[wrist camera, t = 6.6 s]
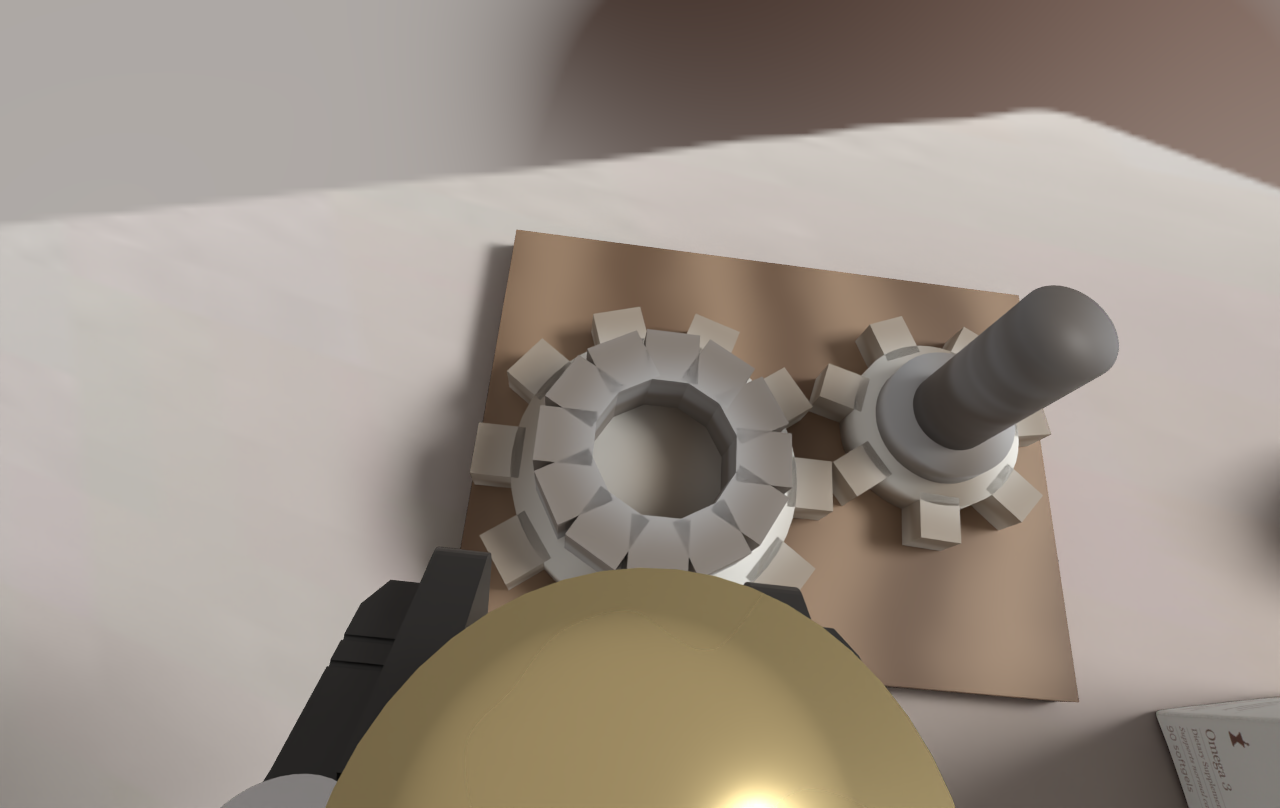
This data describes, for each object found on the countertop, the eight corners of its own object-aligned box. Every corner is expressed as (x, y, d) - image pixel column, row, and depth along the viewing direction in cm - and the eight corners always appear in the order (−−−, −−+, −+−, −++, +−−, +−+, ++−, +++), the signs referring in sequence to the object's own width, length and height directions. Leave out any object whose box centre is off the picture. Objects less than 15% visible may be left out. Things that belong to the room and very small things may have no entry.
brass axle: (465, 861, 12) (166, 1434, 3) (500, 641, 13) (382, 536, 4) (671, 878, 12) (1030, 1455, 3) (685, 660, 14) (958, 601, 4)
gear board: (448, 647, 26) (380, 624, 16) (517, 245, 33) (500, 53, 23) (1058, 701, 28) (1338, 710, 18) (1003, 307, 35) (1184, 155, 25)
